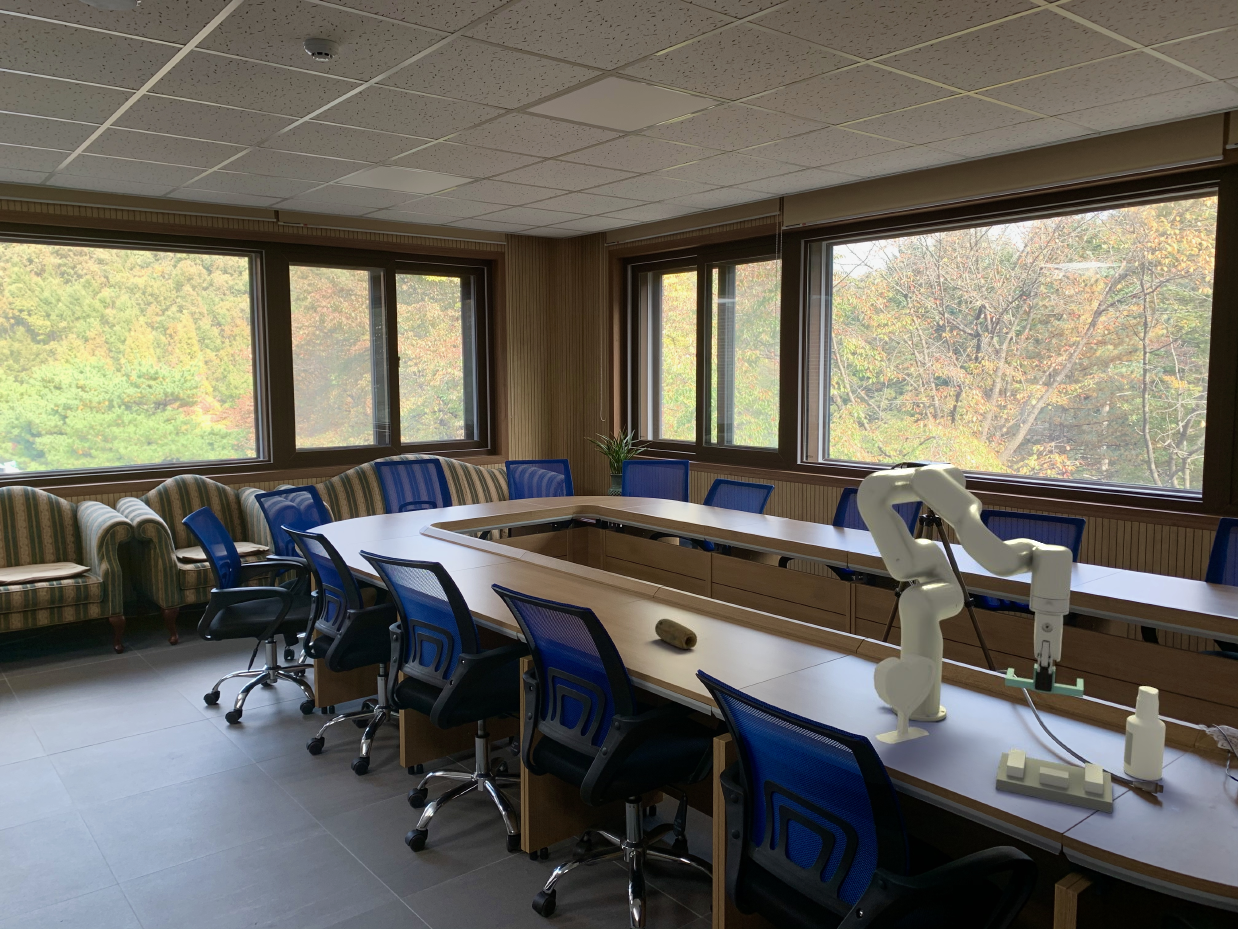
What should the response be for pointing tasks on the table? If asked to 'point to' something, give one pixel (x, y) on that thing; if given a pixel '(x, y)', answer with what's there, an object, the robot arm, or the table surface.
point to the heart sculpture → (904, 691)
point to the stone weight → (675, 634)
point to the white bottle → (1145, 738)
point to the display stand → (1055, 781)
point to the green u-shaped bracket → (1055, 689)
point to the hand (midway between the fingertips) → (1043, 687)
